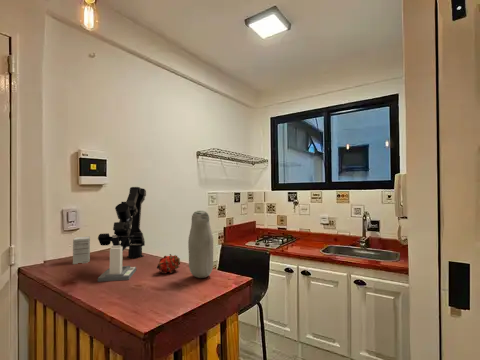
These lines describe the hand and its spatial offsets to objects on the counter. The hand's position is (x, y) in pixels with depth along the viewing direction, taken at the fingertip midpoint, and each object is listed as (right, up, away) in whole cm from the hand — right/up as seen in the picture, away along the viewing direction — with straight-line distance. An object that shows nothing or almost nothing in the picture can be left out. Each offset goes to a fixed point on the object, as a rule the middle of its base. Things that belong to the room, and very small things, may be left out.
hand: (117, 255), depth 118 cm
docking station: (0, -9, +1) cm, 9 cm away
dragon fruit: (+21, -9, +4) cm, 23 cm away
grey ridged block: (-30, -11, +25) cm, 40 cm away
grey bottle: (+36, -9, -3) cm, 38 cm away
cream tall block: (0, -7, -3) cm, 8 cm away
